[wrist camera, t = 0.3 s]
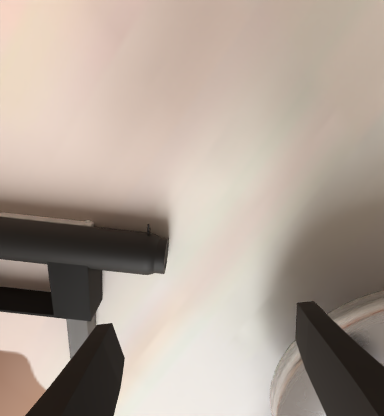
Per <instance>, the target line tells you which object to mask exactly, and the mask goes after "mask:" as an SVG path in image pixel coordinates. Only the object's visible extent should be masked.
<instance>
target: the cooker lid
mask: <svg viewBox="0 0 384 416" xmlns="http://www.w3.org/2000/svg"><path fill="white" fill-rule="evenodd" d="M327 315H328V316H329V317H330V318H331V319H332V320H333V321H334V322H335V323H336V324H338V325H339V326H340V327H341V328H342V329H343V330H344V331H345V332H346V333H347V334H348V335H349V336H350V337H351V338H352V339H353V340H355V341H356V342H357V343H358V344H359V345H360V346H361V347H362V348H364V349H365V350H366V351H367V352H368V353H369V354H370V355H371V356H373V357H374V358H375V359H376V360H377V361H378V362H379V363H381V364H382V365H383V366H384V290H382V291H379V292H375V293H372V294H369V295H365V296H363V297H360V298H358V299H356V300H353V301H351V302H348V303H346V304H344V305H342V306H340V307H338V308H337V309H335V310H333V311H331V312H329V313H328V314H327ZM270 408H271V412H272V416H326V413H325V411H324V409H323V407H322V405H321V403H320V400H319V398H318V396H317V394H316V392H315V390H314V387H313V385H312V383H311V381H310V379H309V376H308V374H307V372H306V370H305V367H304V364H303V361H302V358H301V355H300V352H299V349H298V346H297V343H296V340H295V341H294V342H293V343H292V344H291V345H290V347H289V348H288V349H287V351H286V352H285V354H284V355H283V357H282V358H281V360H280V362H279V364H278V366H277V368H276V370H275V373H274V376H273V379H272V382H271V389H270Z"/></svg>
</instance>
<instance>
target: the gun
mask: <svg viewBox="0 0 384 416" xmlns="http://www.w3.org/2000/svg"><path fill="white" fill-rule="evenodd" d="M168 247H169V239H166V238H160V237H159V236H157V235H155V234H152V233H149V224H148V228H147V233H145V232H136V231H126V230H117V229H108V228H99V227H94V222H91V221H90V220H86V221H78V220H69V219H59V218H50V217H41V216H31V215H22V214H13V213H3V212H0V259H5V260H14V261H23V262H32V263H41V264H47V265H48V273H49V281H50V288H51V292H44V291H35V290H26V289H17V288H8V287H0V311H1V312H10V313H19V314H28V315H37V316H46V317H54V318H63V319H66V320H67V330H68V339H69V349H70V358H71V359H72V357H73V356H74V355H75V353H76V352H77V351H78V349H79V348H80V347H81V345H82V344H83V343H84V341H85V340H86V339H87V337H88V336H89V335H90V333H91V332H92V331H93V329H94V328H95V327H96V318H95V312H96V310H97V309H98V307H99V305H100V303H101V301H102V270H106V271H115V272H124V273H133V274H142V275H149V274H153V273H160V274H164V273H165V269H166V264H167V257H168Z"/></svg>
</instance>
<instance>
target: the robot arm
mask: <svg viewBox="0 0 384 416" xmlns="http://www.w3.org/2000/svg"><path fill="white" fill-rule="evenodd" d="M296 343H297V346H298V349H299V352H300V355H301V358H302V361H303V364H304V367H305V370H306V372H307V374H308V376H309V379H310V381H311V383H312V385H313V387H314V390H315V392H316V394H317V396H318V398H319V400H320V403H321V405H322V407H323V409H324V411H325V413H326V416H384V366H383V365H382V364H381V363H379V362H378V361H377V360H376V359H375V358H374V357H373V356H371V355H370V354H369V353H368V352H367V351H366V350H365V349H364V348H362V347H361V346H360V345H359V344H358V343H357V342H356V341H355V340H353V339H352V338H351V337H350V336H349V335H348V334H347V333H346V332H345V331H344V330H343V329H342V328H341V327H340V326H339V325H338V324H336V323H335V322H334V321H333V320H332V319H331V318H330V317H329V316H328V315H327V314H326V313H325V312H324V311H323V310H322V309H321V308H320V307H319V306H318V305H317V304H316V303H315V302H314V301H311V302H302V303H297V316H296ZM124 359H125V358H124V355H123V352H122V350H121V347H120V344H119V341H118V338H117V336H116V333H115V330H114V327H113V324H112V323H110V324H101V325H97V326H96V327H95V328H94V329H93V331H92V332H91V333H90V335H89V336H88V337H87V339H86V340H85V341H84V343H83V344H82V345H81V347H80V348H79V349H78V351H77V352H76V353H75V355H74V356H73V357H72V359H71V360H70V361H69V363H68V364H67V365H66V366H65V368H64V369H63V370H62V372H61V373H60V374H59V375H58V377H57V378H56V379H55V381H54V382H53V383H52V384H51V386H50V387H49V388H48V389H47V390H46V392H45V393H44V394H43V395H42V396H41V398H40V399H39V400H38V401H37V403H36V404H35V405H34V406H33V407H32V408H31V409H30V411H29V412H28V413H27V414H26V415H25V416H114V412H115V408H116V404H117V400H118V396H119V391H120V387H121V381H122V374H123V367H124Z"/></svg>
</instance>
